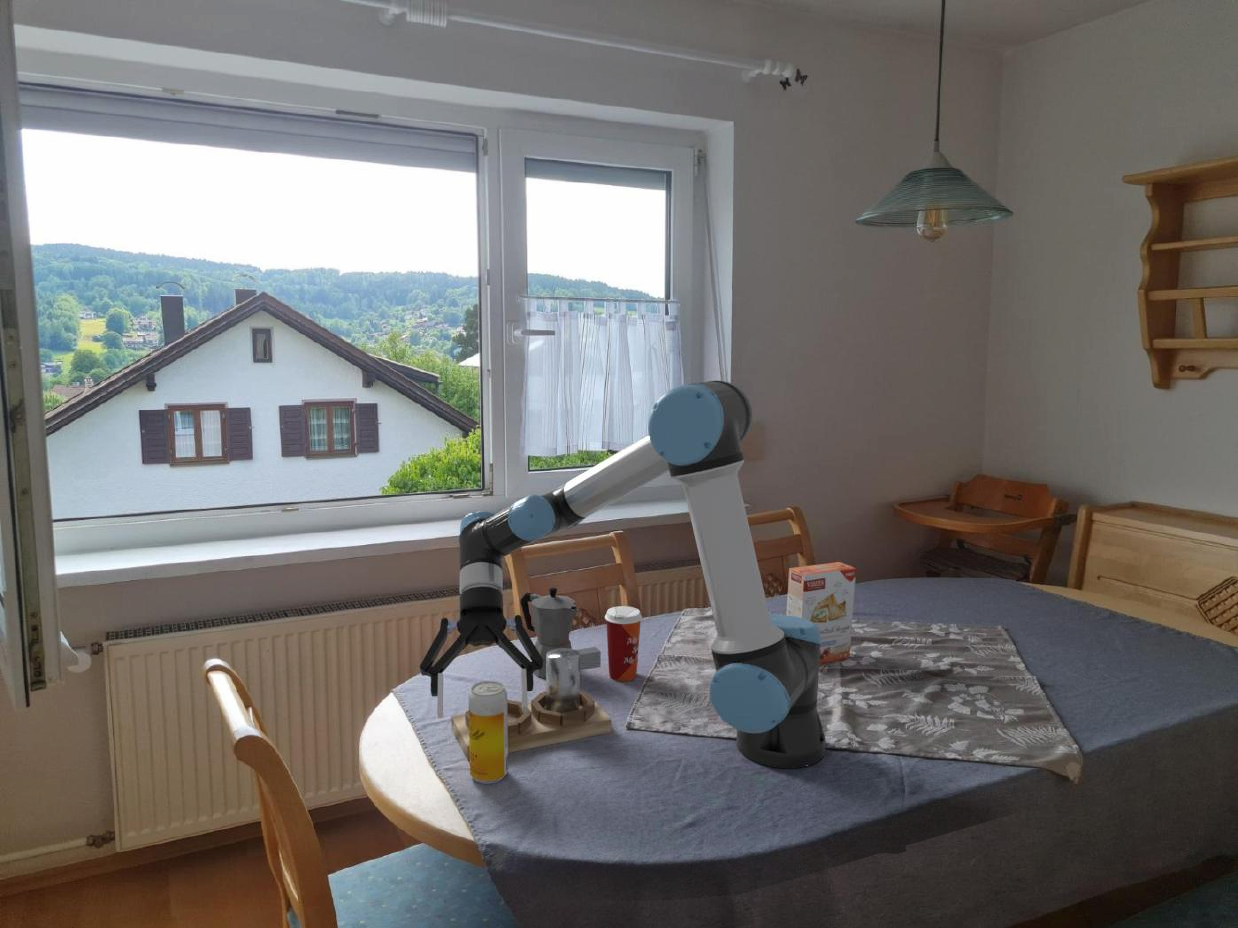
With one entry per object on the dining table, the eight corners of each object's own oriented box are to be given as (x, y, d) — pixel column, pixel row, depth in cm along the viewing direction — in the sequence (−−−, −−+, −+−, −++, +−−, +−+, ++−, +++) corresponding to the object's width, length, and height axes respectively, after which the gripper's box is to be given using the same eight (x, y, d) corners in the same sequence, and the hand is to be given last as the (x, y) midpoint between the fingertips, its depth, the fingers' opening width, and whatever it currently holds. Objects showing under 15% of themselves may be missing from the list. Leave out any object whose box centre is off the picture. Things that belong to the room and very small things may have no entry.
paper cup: (637, 685, 174) (638, 618, 172) (600, 681, 175) (601, 615, 173) (644, 670, 181) (645, 606, 179) (608, 666, 183) (609, 603, 181)
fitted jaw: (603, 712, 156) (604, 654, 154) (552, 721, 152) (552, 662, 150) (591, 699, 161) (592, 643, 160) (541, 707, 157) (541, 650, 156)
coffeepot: (591, 670, 181) (592, 588, 178) (563, 685, 173) (563, 599, 170) (536, 654, 190) (535, 575, 187) (506, 667, 182) (505, 585, 179)
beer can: (471, 766, 141) (470, 680, 139) (508, 765, 142) (508, 679, 140) (468, 786, 136) (466, 696, 133) (507, 784, 136) (506, 695, 134)
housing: (611, 732, 154) (611, 708, 153) (467, 760, 143) (467, 735, 143) (586, 705, 165) (586, 682, 164) (451, 729, 154) (451, 705, 153)
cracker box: (799, 669, 183) (804, 574, 179) (782, 659, 188) (786, 567, 185) (851, 659, 188) (857, 567, 185) (834, 650, 194) (839, 560, 190)
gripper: (550, 600, 157) (558, 715, 144) (410, 606, 152) (405, 724, 140) (553, 581, 150) (561, 699, 138) (406, 586, 146) (401, 708, 134)
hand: (482, 712), depth 139 cm, fingers open, 13 cm apart
